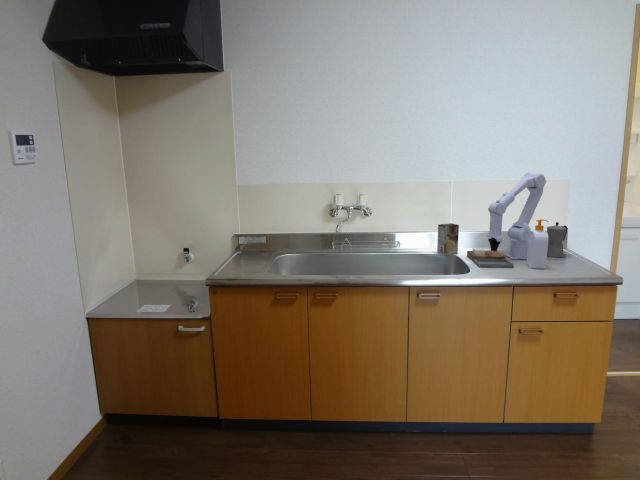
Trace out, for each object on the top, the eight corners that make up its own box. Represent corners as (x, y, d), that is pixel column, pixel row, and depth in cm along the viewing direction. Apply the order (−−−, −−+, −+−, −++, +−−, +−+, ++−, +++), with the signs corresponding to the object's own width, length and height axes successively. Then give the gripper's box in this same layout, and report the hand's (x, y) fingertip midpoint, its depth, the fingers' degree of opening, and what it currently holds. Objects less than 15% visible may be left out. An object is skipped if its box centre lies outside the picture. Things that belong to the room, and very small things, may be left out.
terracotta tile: (499, 254, 235) (499, 250, 234) (502, 256, 230) (502, 253, 229) (489, 254, 235) (489, 250, 235) (492, 256, 230) (492, 252, 230)
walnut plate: (497, 256, 243) (498, 250, 243) (505, 262, 231) (506, 256, 231) (466, 256, 244) (467, 250, 243) (473, 262, 232) (473, 256, 232)
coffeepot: (553, 259, 237) (557, 224, 233) (537, 255, 245) (540, 221, 242) (572, 255, 244) (576, 222, 240) (556, 252, 252) (559, 219, 249)
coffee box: (450, 251, 255) (451, 223, 252) (457, 254, 249) (459, 224, 246) (436, 253, 251) (437, 224, 248) (443, 255, 246) (445, 226, 242)
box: (506, 262, 231) (506, 259, 230) (513, 267, 221) (513, 264, 220) (473, 262, 231) (473, 258, 231) (479, 267, 222) (479, 264, 221)
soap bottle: (547, 269, 218) (552, 221, 214) (531, 268, 219) (536, 221, 215) (541, 264, 227) (545, 218, 222) (526, 263, 228) (530, 218, 223)
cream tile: (482, 251, 241) (482, 248, 240) (485, 254, 236) (485, 250, 235) (472, 251, 241) (472, 248, 240) (475, 254, 236) (475, 250, 235)
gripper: (483, 223, 240) (481, 249, 243) (492, 229, 226) (490, 255, 229) (497, 224, 240) (495, 249, 243) (506, 229, 226) (504, 256, 229)
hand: (493, 252), depth 236 cm, fingers closed
